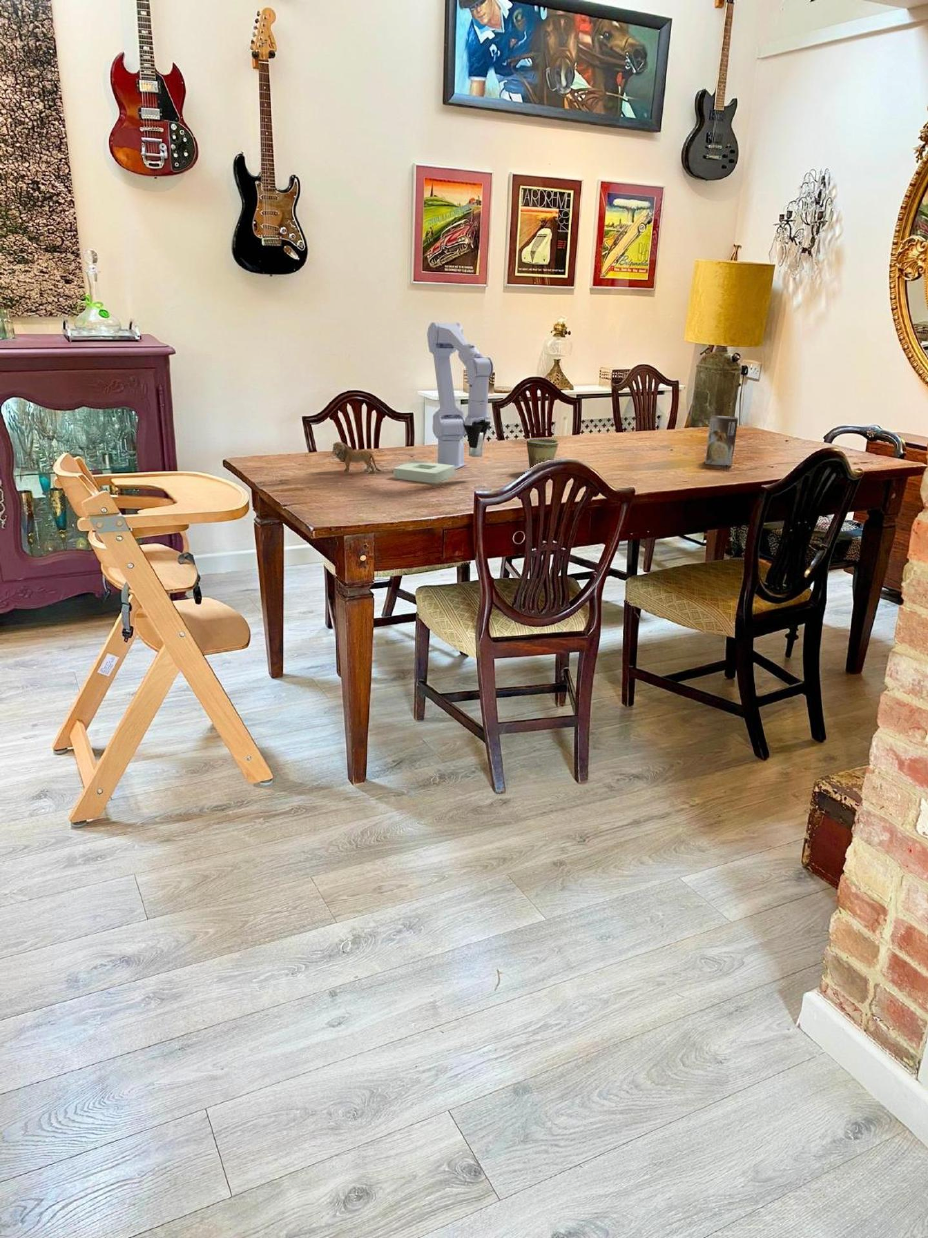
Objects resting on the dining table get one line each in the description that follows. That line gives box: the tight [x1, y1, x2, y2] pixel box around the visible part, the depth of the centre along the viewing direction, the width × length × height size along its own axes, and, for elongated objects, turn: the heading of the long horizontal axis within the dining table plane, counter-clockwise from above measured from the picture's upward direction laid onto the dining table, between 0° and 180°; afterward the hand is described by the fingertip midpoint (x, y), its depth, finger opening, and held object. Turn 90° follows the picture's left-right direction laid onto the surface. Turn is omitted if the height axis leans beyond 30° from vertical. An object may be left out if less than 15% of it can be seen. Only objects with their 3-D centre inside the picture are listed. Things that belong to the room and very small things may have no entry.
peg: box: [468, 432, 484, 458], centre depth 261 cm, size 4×4×7 cm
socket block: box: [392, 460, 456, 484], centre depth 264 cm, size 14×14×3 cm
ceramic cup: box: [526, 437, 559, 469], centre depth 277 cm, size 13×10×10 cm
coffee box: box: [704, 414, 739, 467], centre depth 302 cm, size 9×6×16 cm
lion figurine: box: [331, 441, 382, 475], centre depth 266 cm, size 15×5×9 cm, turn 90°
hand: (475, 446), depth 262 cm, fingers closed on peg, 4 cm apart
